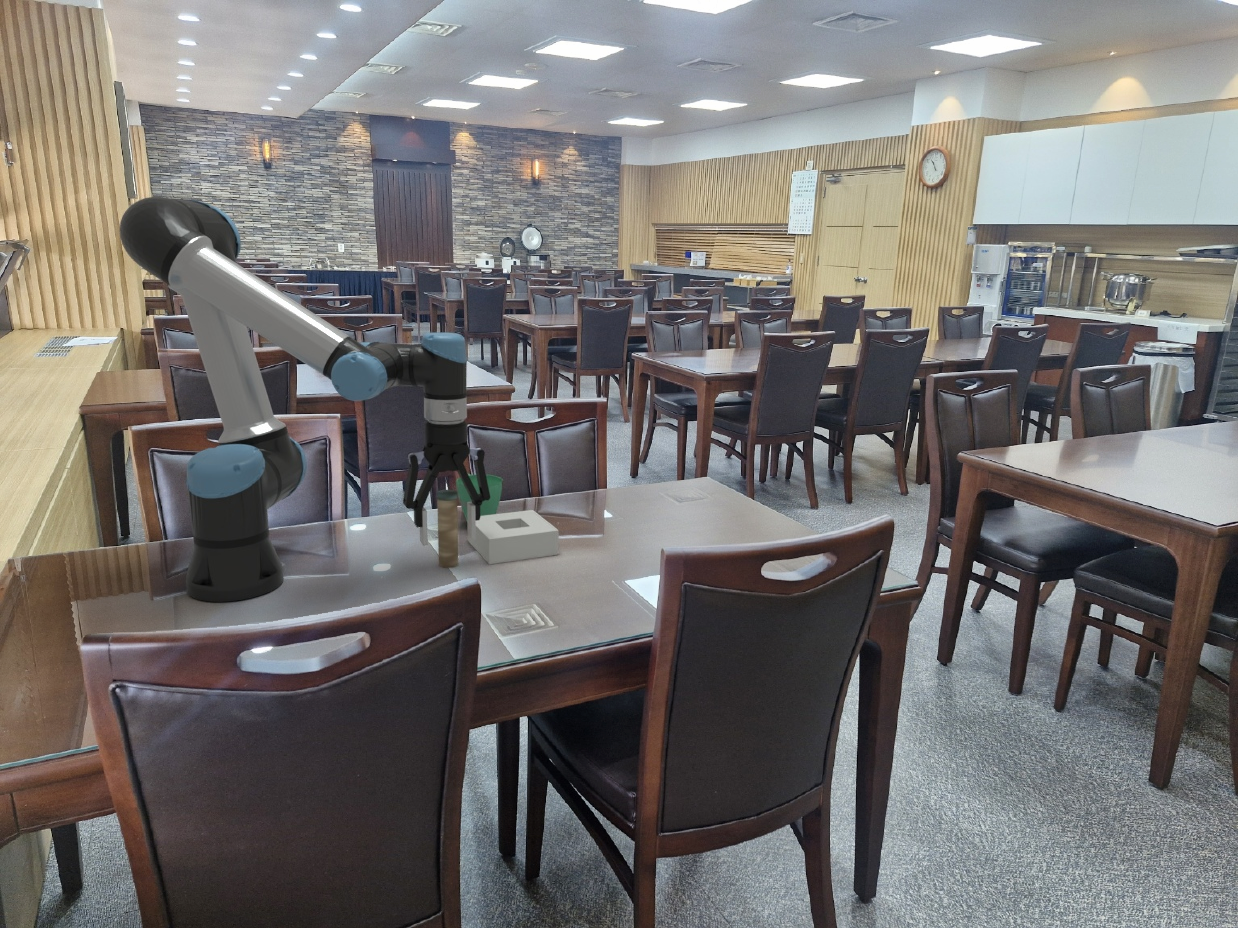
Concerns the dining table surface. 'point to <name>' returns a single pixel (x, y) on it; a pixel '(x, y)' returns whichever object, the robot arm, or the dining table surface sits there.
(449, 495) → the peg
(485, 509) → the mug
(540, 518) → the socket block
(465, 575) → the dining table surface
